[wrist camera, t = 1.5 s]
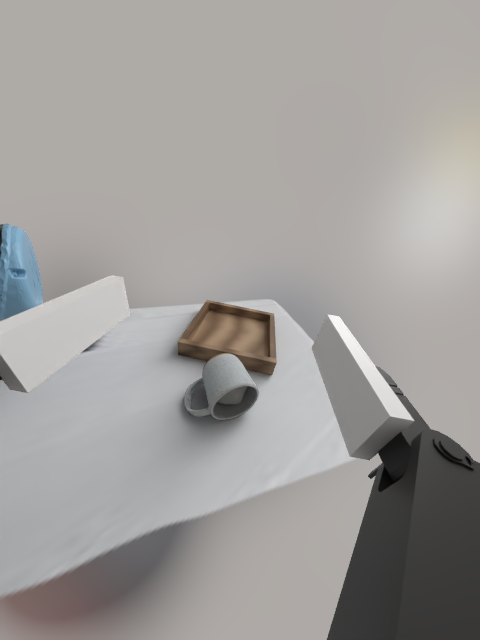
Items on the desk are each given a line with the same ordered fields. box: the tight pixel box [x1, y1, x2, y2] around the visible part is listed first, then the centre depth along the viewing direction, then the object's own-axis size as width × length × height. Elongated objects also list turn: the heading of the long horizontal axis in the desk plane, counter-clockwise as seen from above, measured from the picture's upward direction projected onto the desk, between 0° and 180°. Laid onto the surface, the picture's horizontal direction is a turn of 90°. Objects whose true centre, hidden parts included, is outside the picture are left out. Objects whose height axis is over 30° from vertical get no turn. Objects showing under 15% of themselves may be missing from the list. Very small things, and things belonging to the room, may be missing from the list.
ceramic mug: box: [184, 353, 259, 420], centre depth 29 cm, size 11×8×8 cm
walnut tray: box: [178, 300, 276, 375], centre depth 46 cm, size 20×20×4 cm
